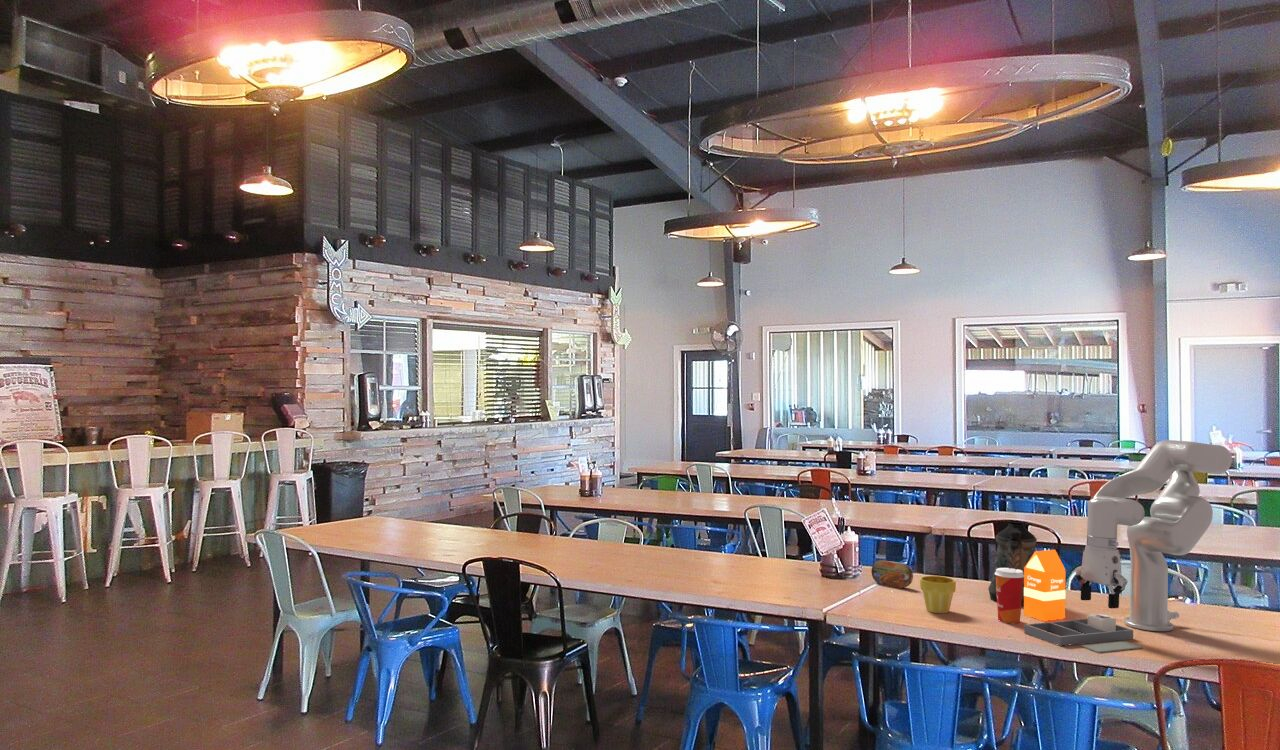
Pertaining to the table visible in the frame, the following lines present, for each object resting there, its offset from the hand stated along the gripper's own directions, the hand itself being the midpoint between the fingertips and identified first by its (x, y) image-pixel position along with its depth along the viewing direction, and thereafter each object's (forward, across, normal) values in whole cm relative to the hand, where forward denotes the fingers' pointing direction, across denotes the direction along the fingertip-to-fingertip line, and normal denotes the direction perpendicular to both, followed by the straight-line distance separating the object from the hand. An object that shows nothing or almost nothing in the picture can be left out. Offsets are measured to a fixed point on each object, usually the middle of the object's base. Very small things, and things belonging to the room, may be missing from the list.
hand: (1099, 604), depth 255 cm
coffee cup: (+9, +19, +14) cm, 25 cm away
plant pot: (+10, +35, +27) cm, 45 cm away
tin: (+9, +69, +20) cm, 72 cm away
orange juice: (+9, +20, 0) cm, 22 cm away
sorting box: (+9, 0, +7) cm, 11 cm away
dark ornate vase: (+8, +38, -6) cm, 39 cm away
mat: (+9, -11, +7) cm, 16 cm away
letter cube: (+9, 0, -1) cm, 9 cm away
